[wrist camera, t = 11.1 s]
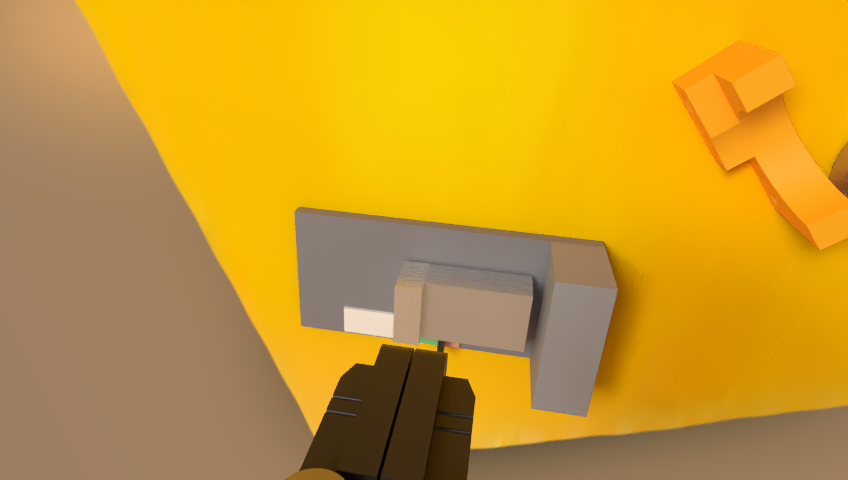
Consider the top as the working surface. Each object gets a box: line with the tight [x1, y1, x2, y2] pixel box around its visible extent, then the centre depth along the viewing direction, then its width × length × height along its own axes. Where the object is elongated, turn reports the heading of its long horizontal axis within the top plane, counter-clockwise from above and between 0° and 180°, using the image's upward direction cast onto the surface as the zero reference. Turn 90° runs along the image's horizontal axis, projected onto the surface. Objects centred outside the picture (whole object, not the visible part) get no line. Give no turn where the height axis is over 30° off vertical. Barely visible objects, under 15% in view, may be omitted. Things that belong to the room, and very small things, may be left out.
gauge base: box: [295, 207, 618, 417], centre depth 42 cm, size 24×11×7 cm, turn 87°
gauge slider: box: [393, 261, 533, 352], centre depth 43 cm, size 10×8×4 cm
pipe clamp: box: [672, 41, 848, 250], centre depth 34 cm, size 12×4×6 cm, turn 37°
